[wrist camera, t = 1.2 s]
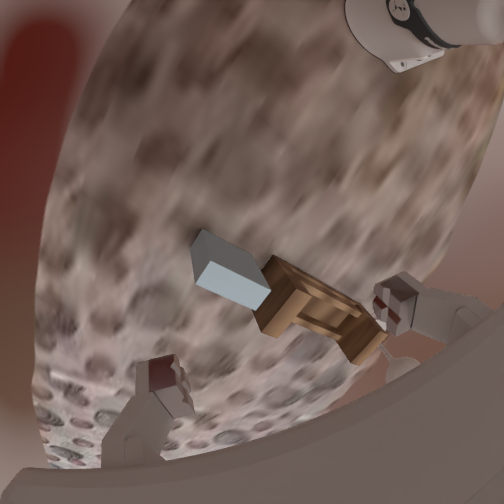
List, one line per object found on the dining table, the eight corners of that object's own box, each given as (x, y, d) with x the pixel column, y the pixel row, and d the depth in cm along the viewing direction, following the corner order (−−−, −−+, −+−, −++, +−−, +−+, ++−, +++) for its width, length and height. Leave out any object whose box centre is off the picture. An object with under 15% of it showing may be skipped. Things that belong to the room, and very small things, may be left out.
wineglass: (391, 324, 64) (443, 384, 45) (367, 351, 66) (413, 413, 47) (373, 313, 60) (430, 379, 42) (347, 342, 62) (396, 412, 44)
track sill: (361, 304, 57) (387, 334, 49) (337, 333, 59) (359, 365, 51) (273, 254, 47) (296, 288, 38) (244, 293, 49) (261, 332, 40)
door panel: (252, 255, 46) (271, 290, 38) (239, 272, 47) (255, 310, 38) (202, 228, 42) (210, 260, 34) (190, 248, 43) (195, 283, 35)
